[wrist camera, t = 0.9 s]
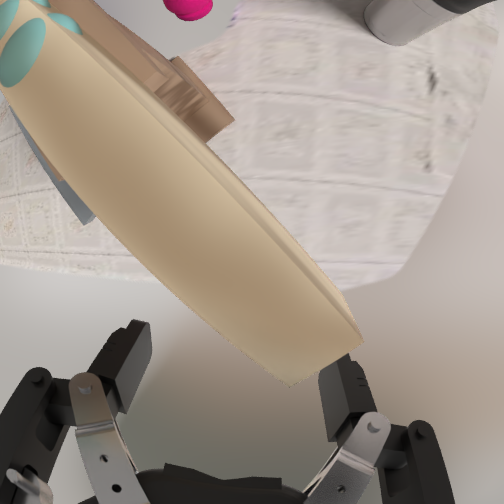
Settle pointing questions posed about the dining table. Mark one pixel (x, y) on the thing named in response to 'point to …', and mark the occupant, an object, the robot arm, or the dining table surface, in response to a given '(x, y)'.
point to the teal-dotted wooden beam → (170, 196)
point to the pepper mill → (189, 8)
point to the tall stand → (150, 71)
